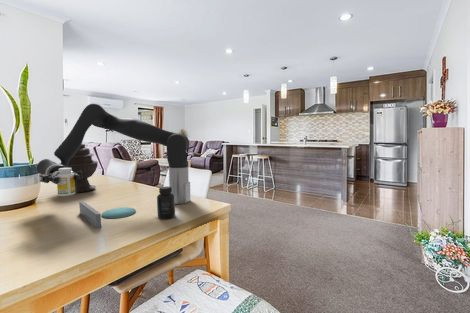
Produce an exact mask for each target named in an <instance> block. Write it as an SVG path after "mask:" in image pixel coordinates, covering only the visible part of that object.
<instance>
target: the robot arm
mask: <svg viewBox="0 0 470 313" xmlns="http://www.w3.org/2000/svg"><path fill="white" fill-rule="evenodd" d="M92 126H93V127H97V128H101V129H104V130H109V131H112V132H113V131H114V132H116V133H118V134H121V135H124V136H126V137H129V138H132V139H135V140H139V141H141V142H146V143H150V144H151V143H152V144H158V145H160V146H161V145H162V146H165V147H166V158H167V159H166V160H167V163H168V185H169V186H168V187H172V192H171V193H172V194H174V197H175V205H181V204H185V205H186V204H188V203H189V202H190V201H191V181H190V180H189V178H190V177H189V161H188V158H187V157H188V156H187V150H188V149H189V147H190V139H189V138H188V137H187V136H186V135H185V134H183V133H177V132H174V131H173V132H172V131H168V130H165V129H162V128H160V127H158V126H156V125H154V124H151V123H148V122H146V121H142V120H140V119H136V118H126V117H125V118H124V117H118V116H116V115H114V114H111V113H109V112H108V111H106V110H105V108H103V106H102V105H100V104H98V103H94V102H93V103H89V104H88V105H87V106H85V107H84V108H83V111H82V112H81V113H80V115H79V117H78V119H77V120H76V122H75V124H74V125H73V126H72V129H71V130H70V132H69V133H68V135H67V136H66V137H65V139H64V140H63V141H62V142H61V144H60V145H59V146H58V147H57V148H56V149H55V150H54V152H53V155H54V156H55V157H56V158H57V159H58V160H60V163H61V164H60V163H57V162H55V161H53V160H51V159H49V158H46V159H45V158H44V159H41V160H40V161H39V162H38V163H37V165H36V167H35V170H36V172H37V174H39V175H38V176H39V182H41V183H45V184H49V183H50V182H51V183H52V184H55V185H57V183H59V181H58V176H57V175H58V174H60V173H59V171H58V169H60V168H68V167H67V165H68V163H69V161H70V160H71V158H72V157H73V156H74V155H75V153H76V152H77V151H78V150H79V148H80V146H81V144H83V141H84V139H85V138H84V137H85V135H86V133H87V131H88V130H89V128H91V127H92ZM71 173H73V174H74V178H75V181H78V179H83V177H82V171H81V170H79V171H77V173H74V171H72V172H71Z"/></svg>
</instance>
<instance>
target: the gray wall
mask: <svg viewBox="0 0 470 313" xmlns="http://www.w3.org/2000/svg"><path fill="white" fill-rule="evenodd" d="M78 204H79V214H80V215H81V216H82V217H84V218H85V219H86V220H87V222H89V223H90V224H91V225H92V226H93V227H94V228H96V229H99V228H102V215H101V214H102V213H101V212H99V211H98V210H96V209H95V208H94V207H92V206H91V205H90V204H88V203H87V202H85V201H84V200H81V201H78Z"/></svg>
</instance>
